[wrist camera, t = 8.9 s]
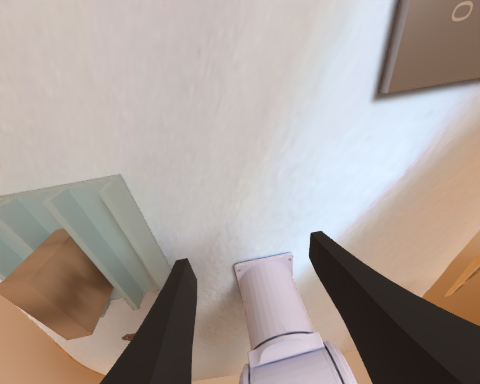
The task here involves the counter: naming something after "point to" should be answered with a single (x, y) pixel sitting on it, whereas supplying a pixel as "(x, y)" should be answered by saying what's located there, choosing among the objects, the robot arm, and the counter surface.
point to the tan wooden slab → (59, 287)
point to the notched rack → (87, 233)
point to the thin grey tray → (432, 44)
